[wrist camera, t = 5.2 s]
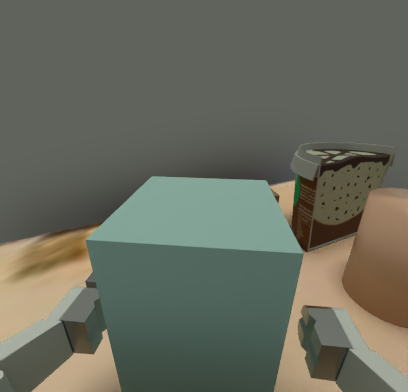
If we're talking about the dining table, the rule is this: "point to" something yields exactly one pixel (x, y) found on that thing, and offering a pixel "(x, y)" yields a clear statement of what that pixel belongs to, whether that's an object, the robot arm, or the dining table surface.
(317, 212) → the food container
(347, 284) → the tan rounded cylinder
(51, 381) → the dining table surface
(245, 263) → the tall green rectangular block
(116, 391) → the dining table surface
